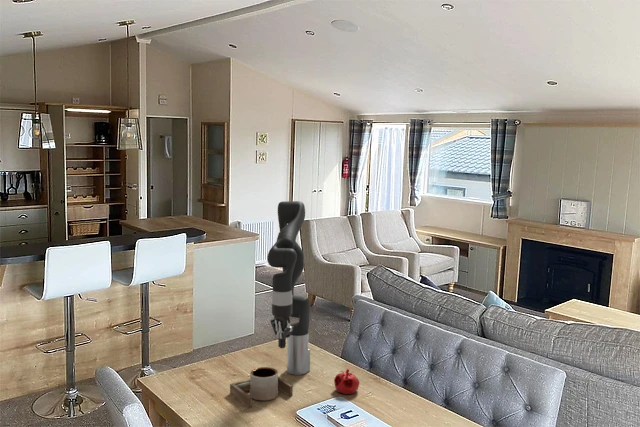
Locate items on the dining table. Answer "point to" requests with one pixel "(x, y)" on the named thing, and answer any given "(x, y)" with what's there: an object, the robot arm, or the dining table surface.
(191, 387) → the dining table surface
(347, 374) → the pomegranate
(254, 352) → the dining table surface
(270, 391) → the planter
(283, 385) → the bay
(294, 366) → the robot arm
